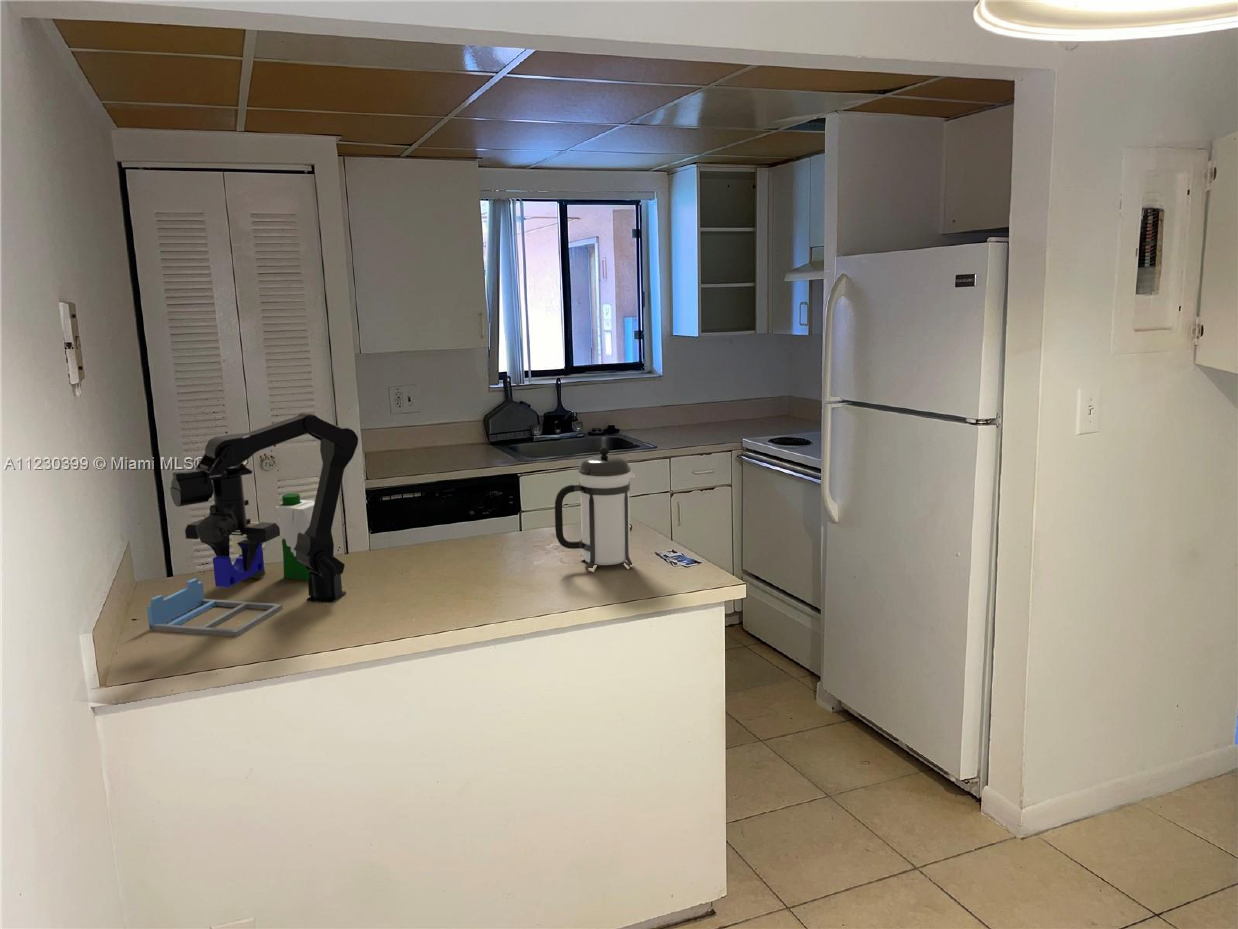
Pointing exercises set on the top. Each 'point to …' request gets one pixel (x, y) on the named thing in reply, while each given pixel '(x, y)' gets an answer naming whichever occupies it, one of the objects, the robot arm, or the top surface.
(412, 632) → the top surface
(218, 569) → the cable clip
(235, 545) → the character mug
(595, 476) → the coffee press
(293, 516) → the milk carton
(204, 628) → the blue grey rack
